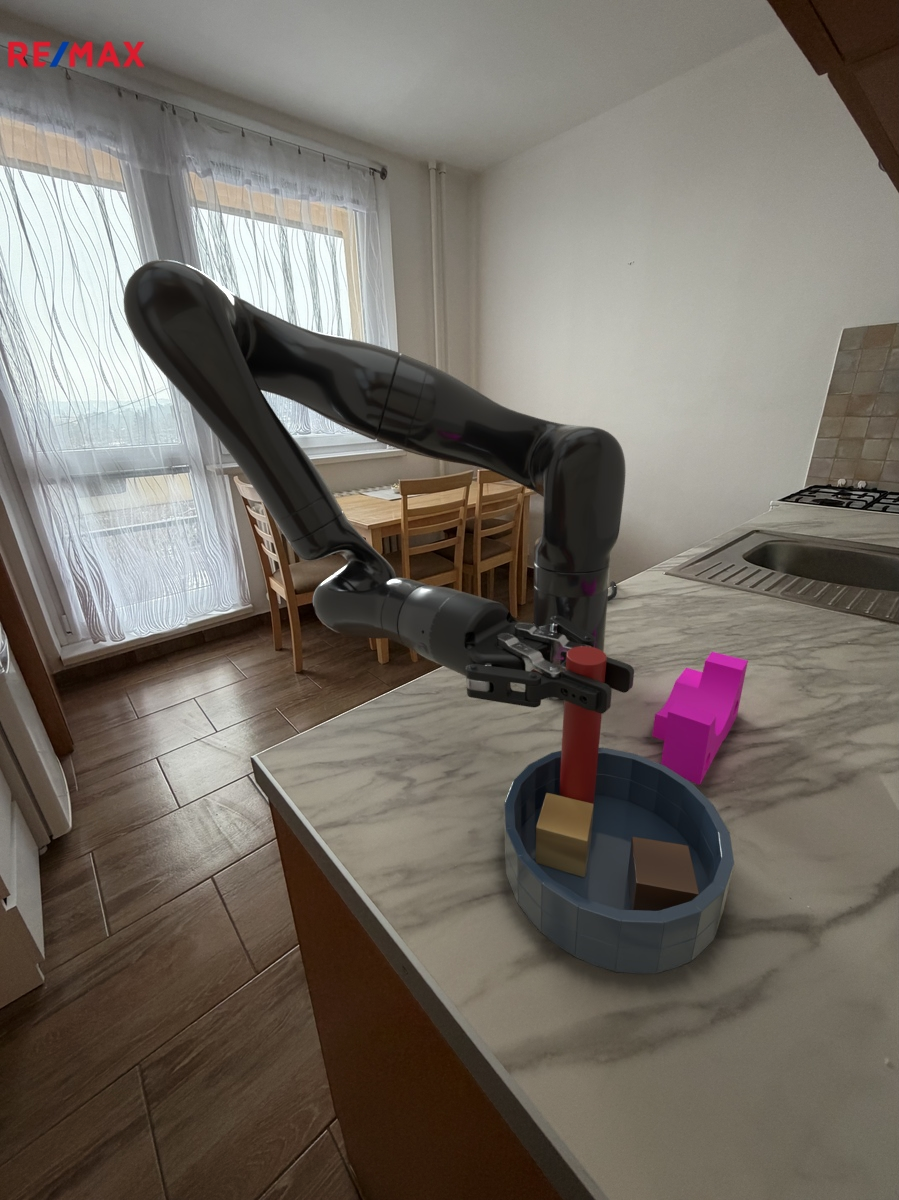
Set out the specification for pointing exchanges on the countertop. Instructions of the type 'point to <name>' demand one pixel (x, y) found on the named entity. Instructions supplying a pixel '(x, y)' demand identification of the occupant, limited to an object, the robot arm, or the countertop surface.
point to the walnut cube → (660, 875)
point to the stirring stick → (581, 730)
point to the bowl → (619, 864)
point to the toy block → (700, 715)
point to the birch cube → (564, 834)
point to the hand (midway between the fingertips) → (619, 689)
